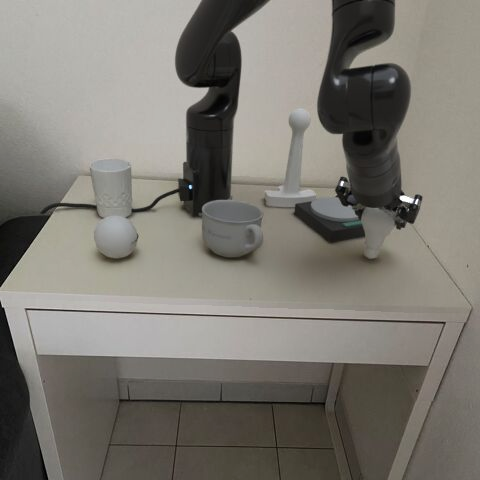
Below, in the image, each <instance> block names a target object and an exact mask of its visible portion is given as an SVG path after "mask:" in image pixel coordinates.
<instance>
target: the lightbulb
mask: <svg viewBox="0 0 480 480" xmlns="http://www.w3.org/2000/svg"><path fill="white" fill-rule="evenodd" d="M361 221H362V225H363V228H364V231H365V236H364V252H363V255H364V256H365V257H366V258H367V259H369V260H373V259H376V258H378V257H379V254H380V250H381V248H382V247H383V245H384V242H385V240H386V238H387V237H388V235H390V233H391V232H392V231H393V230H394V229H395V228H396V219H395V218H394V217H389V216H388V215H387V214H386V213H385V212H384V211H383V210H380V209H379V208H369V207H366V208H365V209H364V211H363V213H362V217H361Z"/></svg>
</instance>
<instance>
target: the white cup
mask: <svg viewBox="0 0 480 480" xmlns="http://www.w3.org/2000/svg"><path fill="white" fill-rule="evenodd" d="M88 167H89V168H88V169H89V173H90V178H91V185H92V189H93V190H92V191H93V193H94V195H93V196H94V200H95V203H96V204H95V205H97V209H96V211H97V214H98V216H99V217H101V218H102V219H103V218H105V217H108V216H112V215H117V216H122V217H125V218H126V219H127V218H128V217H130V216H131V215H132V213H133V212H132V209H133V208H132V205H133V204H132V202H133V183H132V182H133V179H132V177H133V176H132V164H131V162H130V161H128V160H126V159H123V158H117V157H115V158H114V157H107V158H99V159H95V160H93V161H91V162H90V163H89V164H88Z"/></svg>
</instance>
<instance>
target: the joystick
mask: <svg viewBox="0 0 480 480" xmlns="http://www.w3.org/2000/svg"><path fill="white" fill-rule="evenodd" d="M311 121H312V119H311V115H310V113H309V111H308V110H306V109H305V108H302V107H298V108H295V109H293V110H292V111H291V112H290V114H289V115H288V125H289V127H290V129H291V132H292V133H291V140H290V145H289V152H288V158H287V163H286V170H285V177H284V182H283V184H282V185H279V186H278V187H277V190H270V189H265V190H264V195H263V198H264V199H263V200H265V205H266V206H267V207H273V208H274V207H275V208H295V204H296V203H304V202H311V201H314V200H315V199H317V194H316V192H315V191H314V190H313V189H309V188H308V189H303V190H301V177H302V162H303V150H304V149H303V148H304V135H305V132H306V131H307V130H308V128H309V127H310V126H311Z"/></svg>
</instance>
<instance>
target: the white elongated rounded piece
mask: <svg viewBox="0 0 480 480" xmlns="http://www.w3.org/2000/svg"><path fill="white" fill-rule="evenodd" d="M138 239H139V233H138V231H137V228H136V226H135V225H134V224H133V222H132V221H131V220H129V219H128V218H127V217H126V218H125V217H122V216H117V215H112V216H108V217H105V218H103V217H102V219H101V220H100V221H99V222H98V223H97V224H96V226H95V228H94V231H93V241H94V243H95V247H96V248H97V249H98V251H99V252H100V253H101V254H102V255H104V256H106V257H107V258H111V259H123V258H126V257H128V256H129V255H130V254H132V253H133V252H134V251H135V248H136V247H137V245H138Z"/></svg>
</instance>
